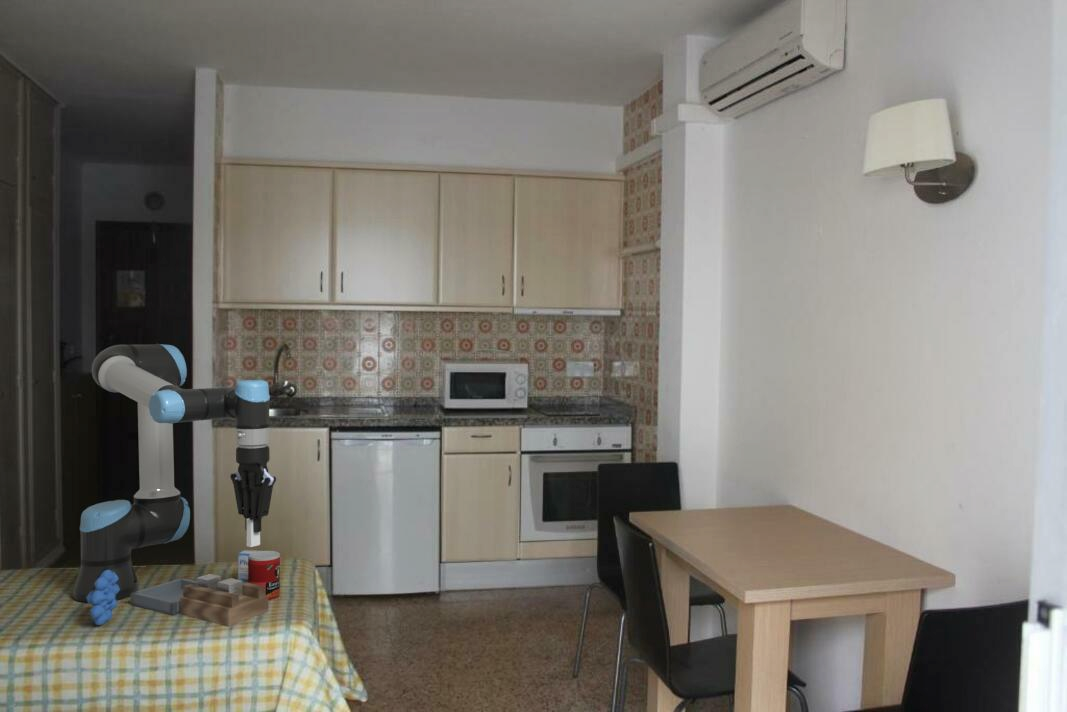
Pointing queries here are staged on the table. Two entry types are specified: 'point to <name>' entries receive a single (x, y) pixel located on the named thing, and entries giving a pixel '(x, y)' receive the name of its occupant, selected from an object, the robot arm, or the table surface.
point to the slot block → (223, 603)
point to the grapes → (103, 597)
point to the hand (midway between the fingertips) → (253, 545)
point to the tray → (162, 596)
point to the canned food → (265, 571)
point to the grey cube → (230, 586)
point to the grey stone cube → (208, 581)
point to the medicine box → (243, 565)
